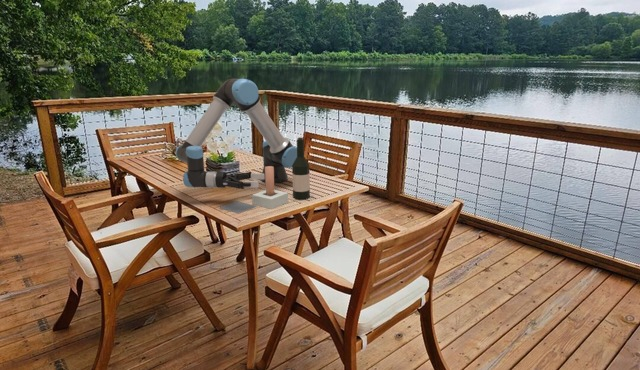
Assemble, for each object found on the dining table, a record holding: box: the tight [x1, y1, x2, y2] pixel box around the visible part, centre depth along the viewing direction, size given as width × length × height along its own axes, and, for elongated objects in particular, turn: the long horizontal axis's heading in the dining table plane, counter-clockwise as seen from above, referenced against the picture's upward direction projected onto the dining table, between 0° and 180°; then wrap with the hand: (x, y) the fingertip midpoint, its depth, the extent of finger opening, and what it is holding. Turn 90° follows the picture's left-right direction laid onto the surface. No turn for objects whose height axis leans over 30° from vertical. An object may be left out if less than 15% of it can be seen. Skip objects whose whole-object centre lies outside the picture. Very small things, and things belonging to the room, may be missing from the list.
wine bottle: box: [291, 136, 311, 201], centre depth 205 cm, size 8×8×30 cm
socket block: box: [251, 189, 289, 210], centre depth 200 cm, size 12×12×5 cm
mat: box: [219, 200, 258, 215], centre depth 195 cm, size 14×12×1 cm
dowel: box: [265, 166, 275, 196], centre depth 198 cm, size 4×4×18 cm
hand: (261, 180), depth 197 cm, fingers open, 13 cm apart
